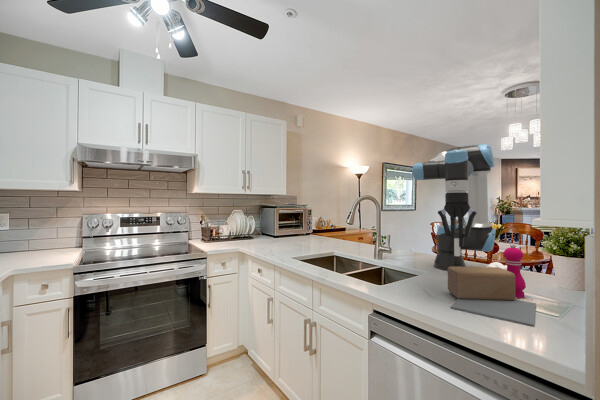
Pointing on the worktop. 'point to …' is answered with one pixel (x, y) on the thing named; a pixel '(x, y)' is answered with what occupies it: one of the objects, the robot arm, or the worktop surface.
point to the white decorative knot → (497, 265)
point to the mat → (499, 309)
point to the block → (481, 283)
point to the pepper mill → (515, 268)
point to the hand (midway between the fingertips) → (457, 255)
